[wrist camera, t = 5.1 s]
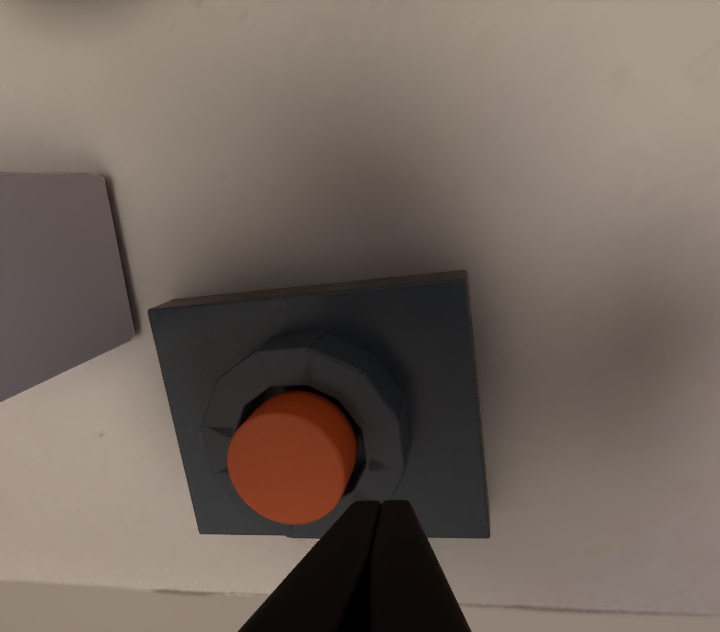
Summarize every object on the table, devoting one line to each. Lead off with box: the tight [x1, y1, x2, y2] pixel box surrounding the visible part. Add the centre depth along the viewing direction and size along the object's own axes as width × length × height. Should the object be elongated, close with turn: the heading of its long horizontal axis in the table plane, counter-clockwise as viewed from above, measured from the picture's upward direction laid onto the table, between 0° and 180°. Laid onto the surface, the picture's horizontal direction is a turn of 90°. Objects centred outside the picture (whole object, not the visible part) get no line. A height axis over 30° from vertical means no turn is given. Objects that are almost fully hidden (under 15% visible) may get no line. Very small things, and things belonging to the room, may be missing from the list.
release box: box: [148, 270, 490, 539], centre depth 18 cm, size 11×9×4 cm
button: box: [227, 391, 358, 525], centre depth 16 cm, size 4×4×2 cm
